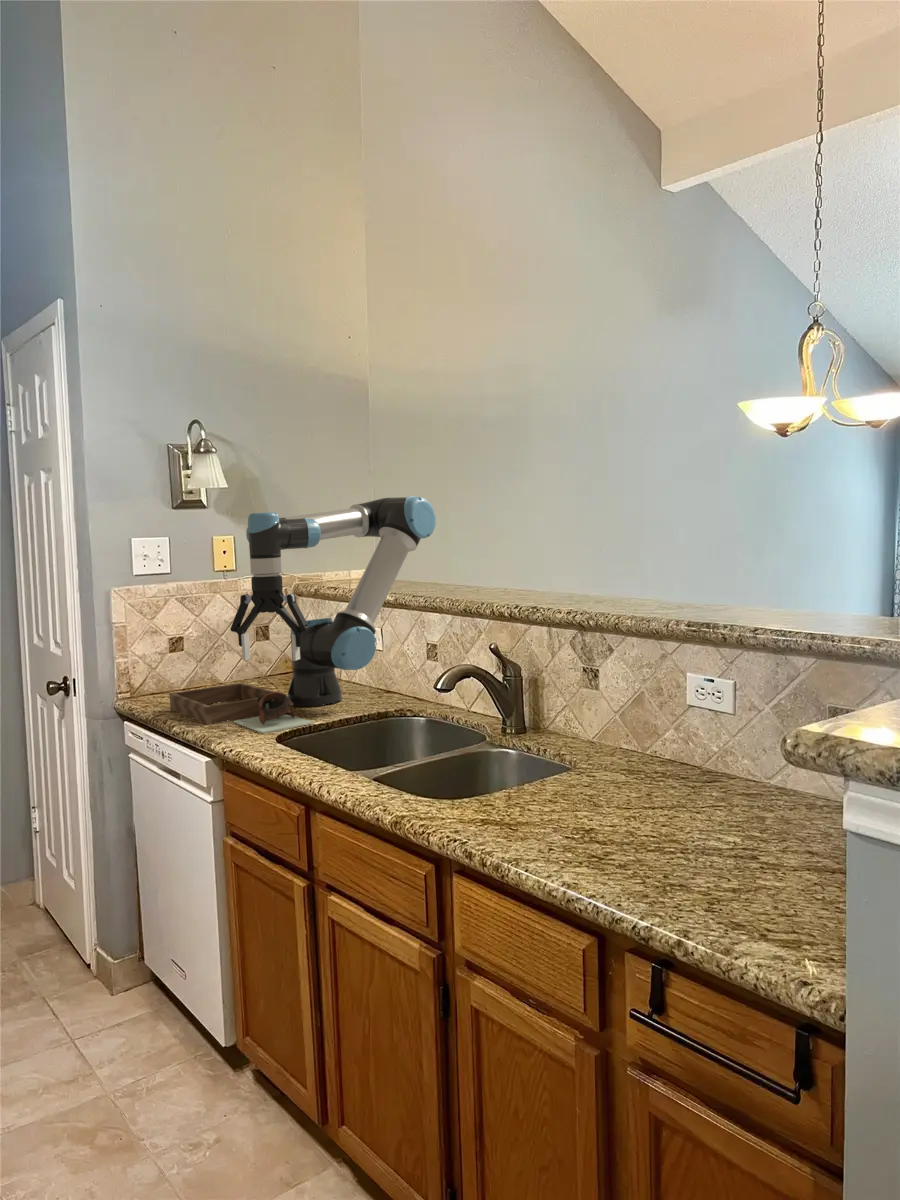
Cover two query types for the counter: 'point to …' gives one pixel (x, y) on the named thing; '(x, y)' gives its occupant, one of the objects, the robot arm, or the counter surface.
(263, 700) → the pottery mug
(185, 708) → the walnut crate
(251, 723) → the cutting board
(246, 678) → the counter surface
